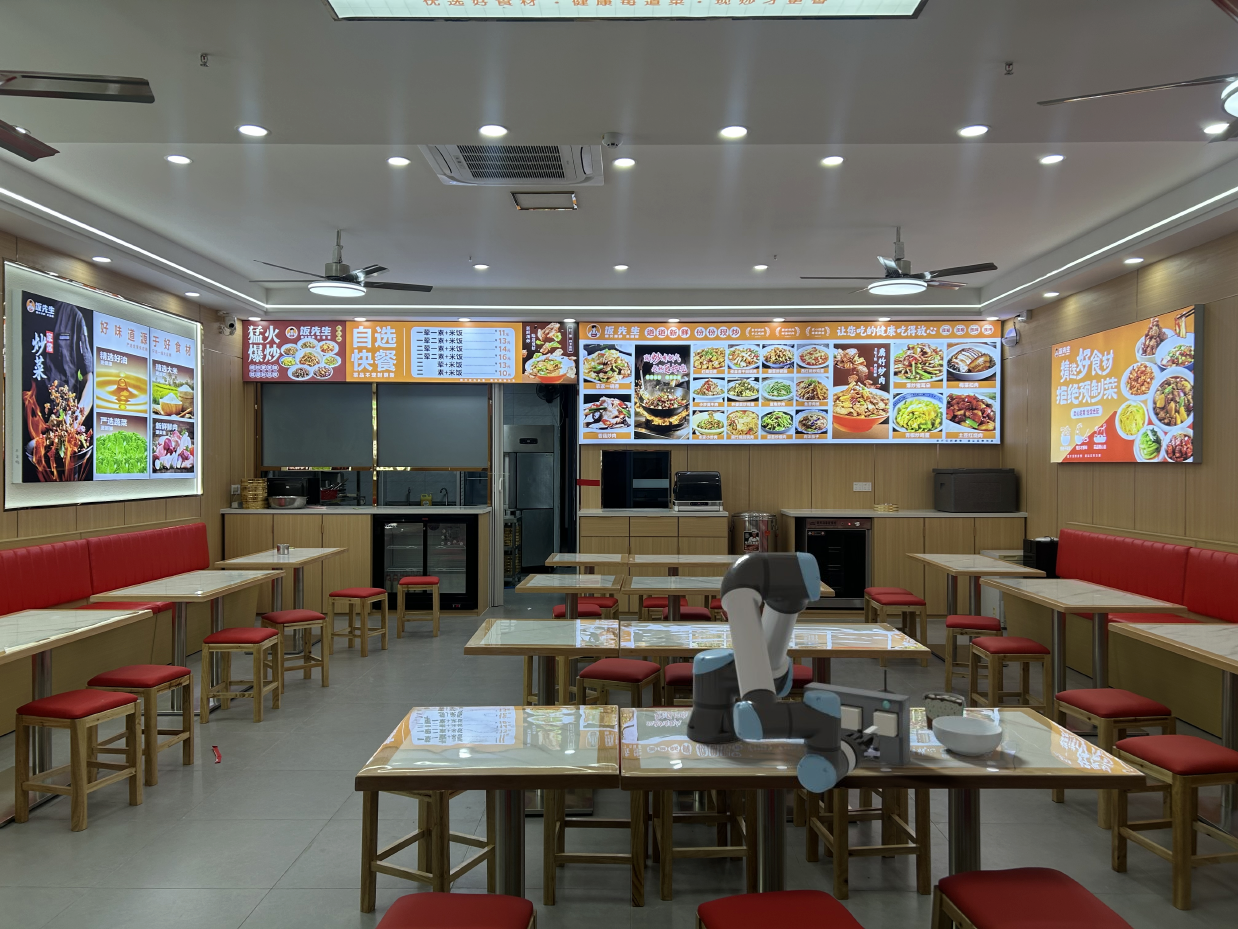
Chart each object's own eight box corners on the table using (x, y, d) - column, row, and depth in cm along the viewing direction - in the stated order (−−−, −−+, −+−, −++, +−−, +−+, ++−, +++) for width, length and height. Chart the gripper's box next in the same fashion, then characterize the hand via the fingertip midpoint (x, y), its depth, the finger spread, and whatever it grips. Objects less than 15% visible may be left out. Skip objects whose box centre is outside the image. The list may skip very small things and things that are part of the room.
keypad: (902, 766, 205) (902, 701, 205) (803, 747, 220) (803, 686, 220) (910, 760, 210) (909, 696, 210) (812, 741, 225) (812, 682, 225)
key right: (893, 736, 204) (893, 716, 204) (873, 733, 207) (873, 713, 207) (898, 733, 207) (898, 713, 207) (878, 729, 210) (878, 709, 210)
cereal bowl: (931, 756, 213) (931, 729, 213) (932, 739, 228) (932, 713, 228) (1004, 765, 206) (1004, 736, 207) (1000, 746, 222) (1000, 720, 222)
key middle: (857, 730, 209) (857, 710, 209) (838, 727, 212) (838, 707, 212) (863, 727, 213) (863, 707, 213) (844, 723, 215) (844, 704, 216)
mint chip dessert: (973, 732, 235) (973, 696, 235) (965, 736, 231) (965, 700, 231) (930, 723, 244) (930, 689, 244) (921, 728, 239) (921, 693, 239)
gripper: (811, 768, 184) (849, 742, 203) (869, 780, 177) (902, 752, 196) (811, 734, 184) (848, 712, 204) (869, 745, 177) (902, 720, 196)
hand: (875, 732), depth 200 cm, fingers closed
